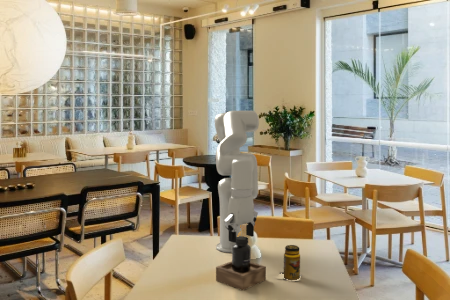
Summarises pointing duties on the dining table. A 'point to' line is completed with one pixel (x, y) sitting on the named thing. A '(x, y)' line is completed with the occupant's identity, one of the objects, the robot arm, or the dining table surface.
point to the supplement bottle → (241, 255)
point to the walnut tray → (240, 275)
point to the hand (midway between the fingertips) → (241, 238)
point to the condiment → (291, 263)
